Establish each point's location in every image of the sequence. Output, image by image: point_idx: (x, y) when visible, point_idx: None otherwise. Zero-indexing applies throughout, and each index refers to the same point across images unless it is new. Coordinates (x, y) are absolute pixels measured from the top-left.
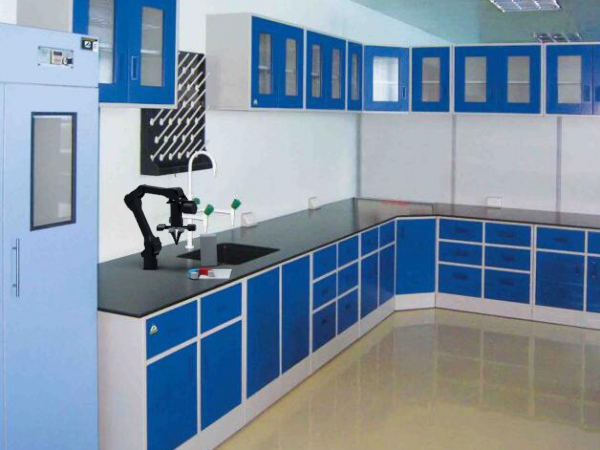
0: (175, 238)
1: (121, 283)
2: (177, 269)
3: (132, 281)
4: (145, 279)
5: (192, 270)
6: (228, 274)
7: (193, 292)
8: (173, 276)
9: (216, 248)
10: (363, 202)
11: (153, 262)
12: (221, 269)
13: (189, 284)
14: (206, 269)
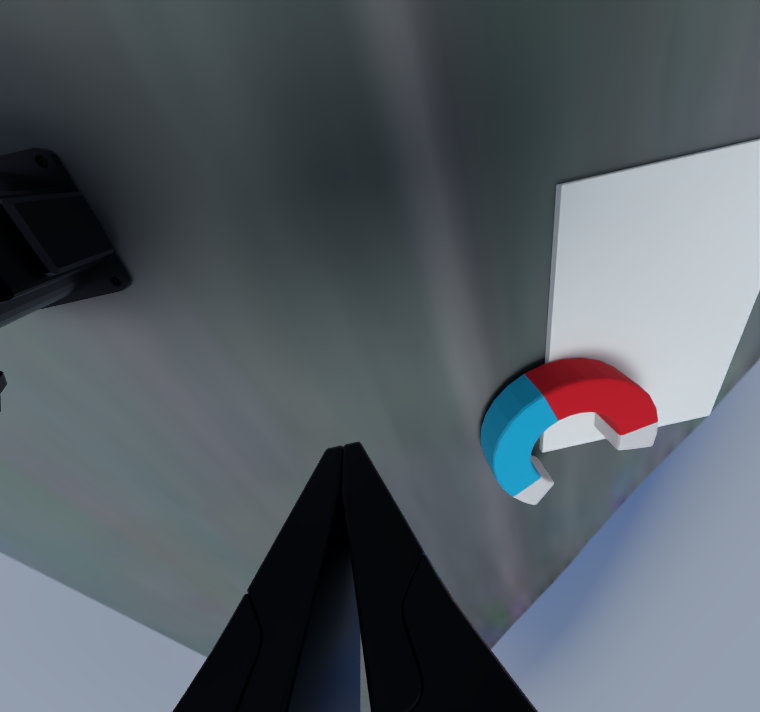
0: (359, 677)
1: (193, 591)
2: (316, 217)
3: (216, 559)
4: (255, 520)
5: (517, 455)
6: (731, 334)
7: (531, 596)
8: (378, 434)
9: None
10: None
11: (49, 290)
12: (724, 170)
13: (502, 531)
14: (612, 409)
